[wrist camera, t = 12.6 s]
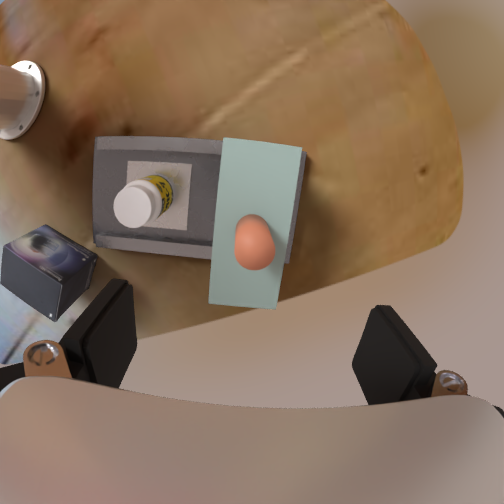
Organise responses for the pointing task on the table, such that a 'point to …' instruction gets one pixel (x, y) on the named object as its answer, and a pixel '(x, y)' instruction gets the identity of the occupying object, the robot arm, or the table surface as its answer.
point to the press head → (252, 222)
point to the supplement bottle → (143, 201)
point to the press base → (184, 186)
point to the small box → (47, 270)
